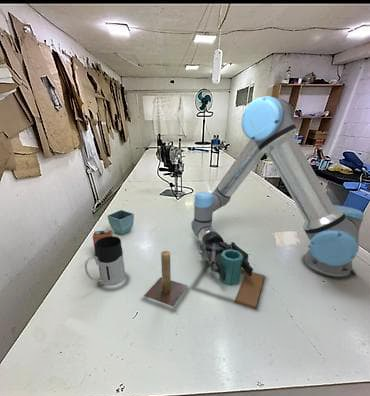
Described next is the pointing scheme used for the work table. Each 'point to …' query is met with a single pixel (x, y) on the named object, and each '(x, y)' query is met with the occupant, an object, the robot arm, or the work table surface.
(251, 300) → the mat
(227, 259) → the sleeve
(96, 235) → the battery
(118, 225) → the flower pot
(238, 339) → the work table surface
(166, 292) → the peg stand
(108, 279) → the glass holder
